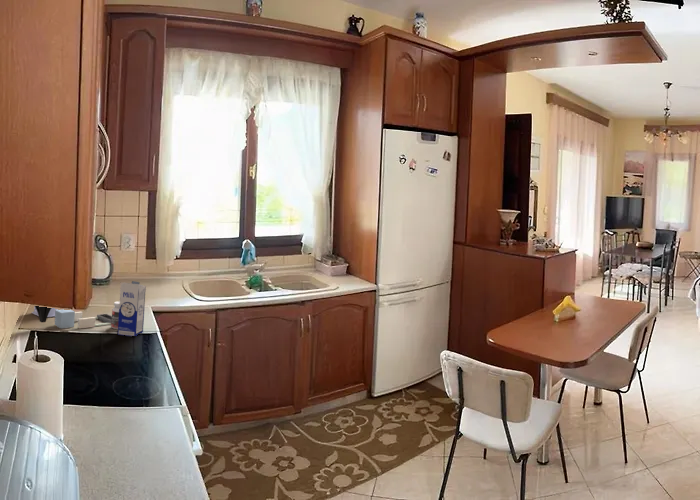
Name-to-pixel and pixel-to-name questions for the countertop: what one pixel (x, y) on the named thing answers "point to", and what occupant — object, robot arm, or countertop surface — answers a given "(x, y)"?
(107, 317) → the pit tray
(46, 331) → the countertop surface
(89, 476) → the countertop surface
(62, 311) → the block
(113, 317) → the pill bottle
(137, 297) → the milk carton
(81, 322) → the channel
